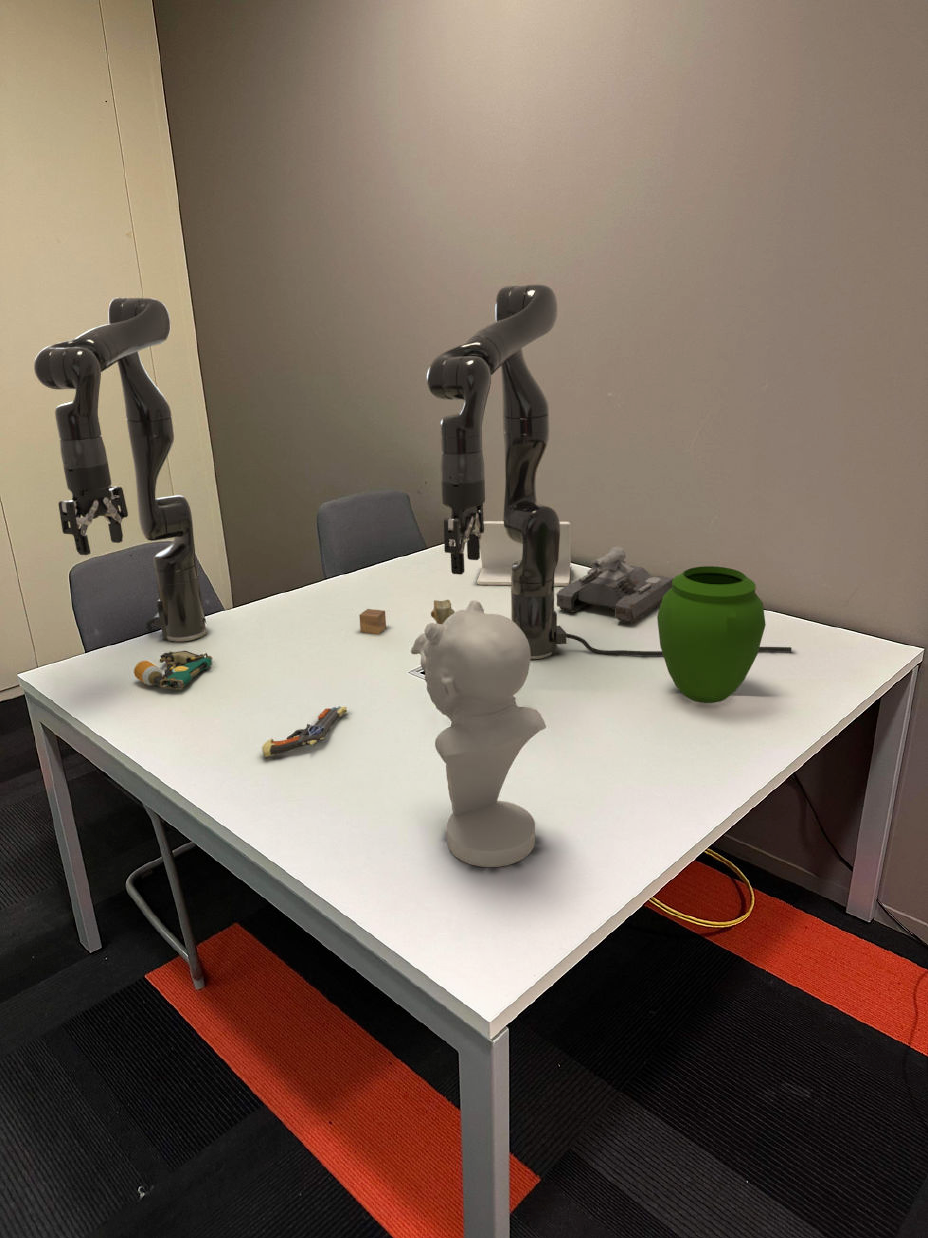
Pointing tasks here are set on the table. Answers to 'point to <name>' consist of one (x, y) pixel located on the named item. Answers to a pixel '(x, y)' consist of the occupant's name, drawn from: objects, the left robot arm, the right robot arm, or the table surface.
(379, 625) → the block
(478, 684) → the bust sculpture
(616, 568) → the toy
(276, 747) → the toy gun
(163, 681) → the spray gun
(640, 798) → the table surface
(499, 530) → the tablet stand
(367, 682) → the table surface
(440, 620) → the sculpture
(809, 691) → the table surface
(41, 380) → the left robot arm
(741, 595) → the vase
